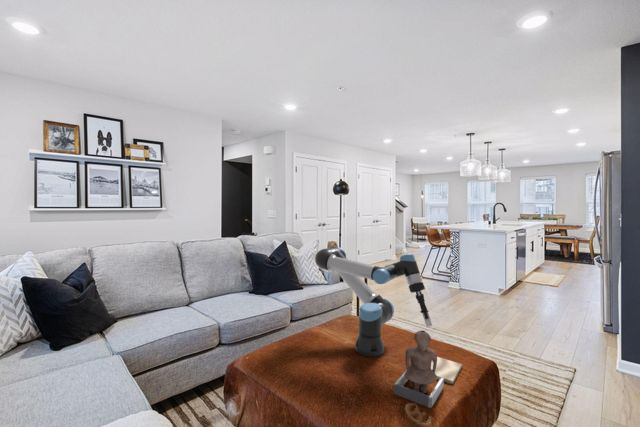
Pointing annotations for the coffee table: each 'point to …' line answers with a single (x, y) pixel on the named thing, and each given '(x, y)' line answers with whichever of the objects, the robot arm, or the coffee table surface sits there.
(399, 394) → the grey channel
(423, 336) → the clay figurine
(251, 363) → the coffee table surface
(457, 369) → the cream square slab
